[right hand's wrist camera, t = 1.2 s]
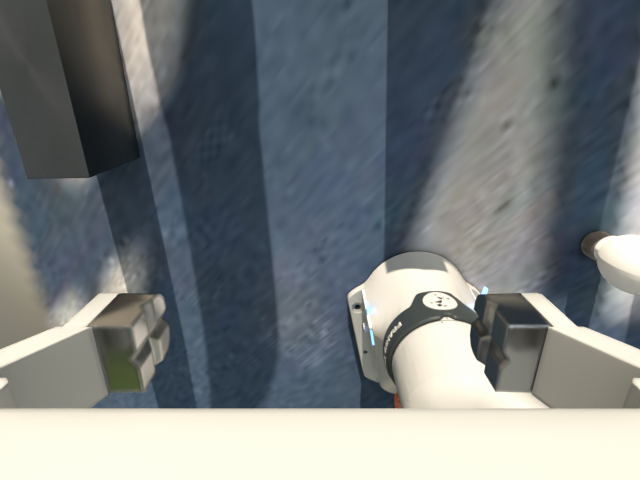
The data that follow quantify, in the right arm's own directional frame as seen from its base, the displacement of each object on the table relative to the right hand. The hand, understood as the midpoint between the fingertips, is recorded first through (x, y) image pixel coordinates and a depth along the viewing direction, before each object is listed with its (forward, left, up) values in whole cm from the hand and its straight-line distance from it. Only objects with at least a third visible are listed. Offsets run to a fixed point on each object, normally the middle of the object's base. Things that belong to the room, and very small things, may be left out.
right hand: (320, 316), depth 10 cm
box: (+8, +25, -40) cm, 48 cm away
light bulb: (-15, -37, -40) cm, 56 cm away
